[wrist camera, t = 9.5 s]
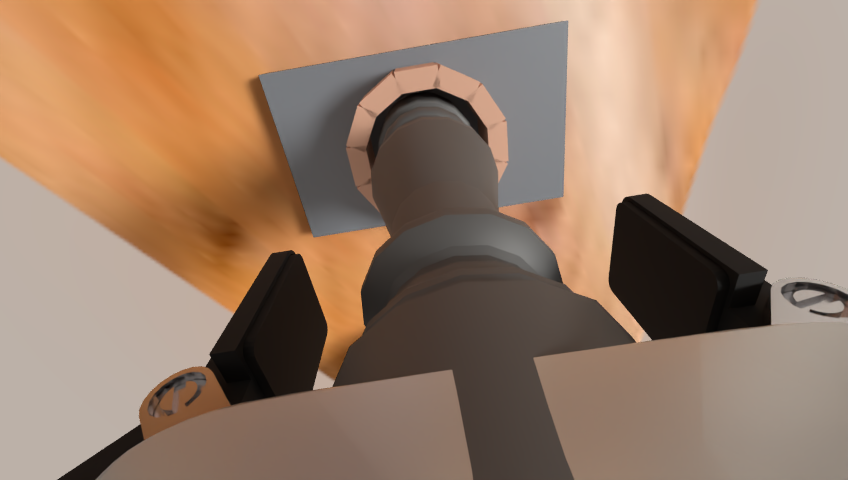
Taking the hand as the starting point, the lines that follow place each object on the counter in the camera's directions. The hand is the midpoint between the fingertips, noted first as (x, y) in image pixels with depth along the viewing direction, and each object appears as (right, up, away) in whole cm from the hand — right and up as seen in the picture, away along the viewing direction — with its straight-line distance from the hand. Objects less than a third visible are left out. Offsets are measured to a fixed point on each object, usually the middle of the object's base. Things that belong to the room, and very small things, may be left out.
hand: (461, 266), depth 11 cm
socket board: (-1, +8, +17) cm, 19 cm away
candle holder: (-1, +8, +15) cm, 17 cm away
